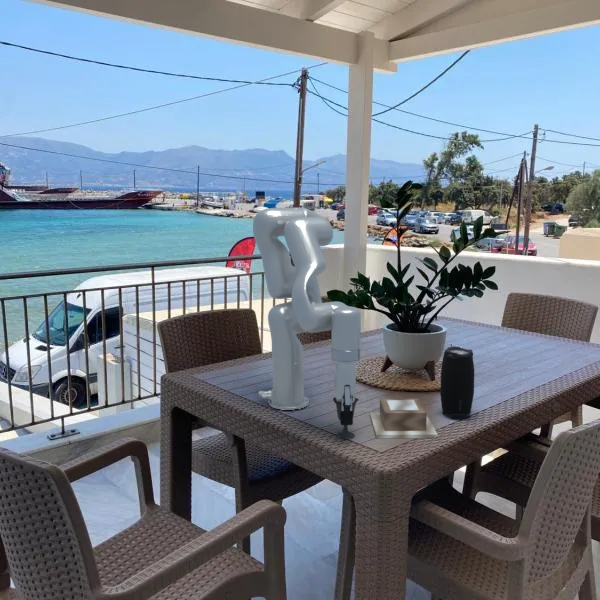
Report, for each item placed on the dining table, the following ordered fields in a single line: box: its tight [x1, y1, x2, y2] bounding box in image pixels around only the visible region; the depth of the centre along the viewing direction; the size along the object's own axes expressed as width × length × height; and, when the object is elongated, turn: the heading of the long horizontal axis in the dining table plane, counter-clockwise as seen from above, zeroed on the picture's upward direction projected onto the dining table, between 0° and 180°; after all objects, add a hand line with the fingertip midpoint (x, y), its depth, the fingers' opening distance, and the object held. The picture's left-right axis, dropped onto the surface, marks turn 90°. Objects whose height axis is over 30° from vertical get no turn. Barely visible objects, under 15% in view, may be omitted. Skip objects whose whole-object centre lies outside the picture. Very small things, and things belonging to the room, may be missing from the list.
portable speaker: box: [440, 345, 475, 421], centre depth 164 cm, size 9×9×20 cm
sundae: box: [332, 389, 360, 440], centre depth 151 cm, size 7×7×15 cm
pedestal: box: [369, 398, 439, 439], centre depth 157 cm, size 16×16×6 cm
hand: (345, 419), depth 151 cm, fingers closed on sundae, 4 cm apart
